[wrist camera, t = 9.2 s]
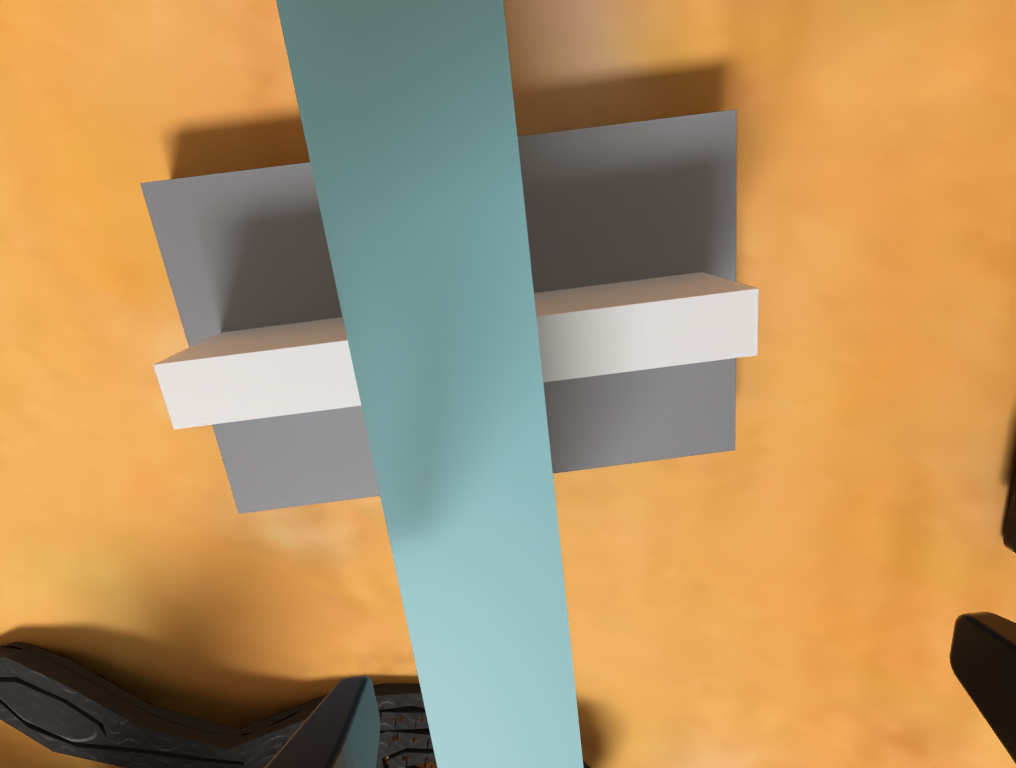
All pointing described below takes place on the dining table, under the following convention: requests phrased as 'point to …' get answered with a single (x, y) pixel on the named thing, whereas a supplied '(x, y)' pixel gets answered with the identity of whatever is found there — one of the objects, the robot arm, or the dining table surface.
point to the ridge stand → (557, 292)
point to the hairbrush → (173, 720)
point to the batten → (445, 356)
